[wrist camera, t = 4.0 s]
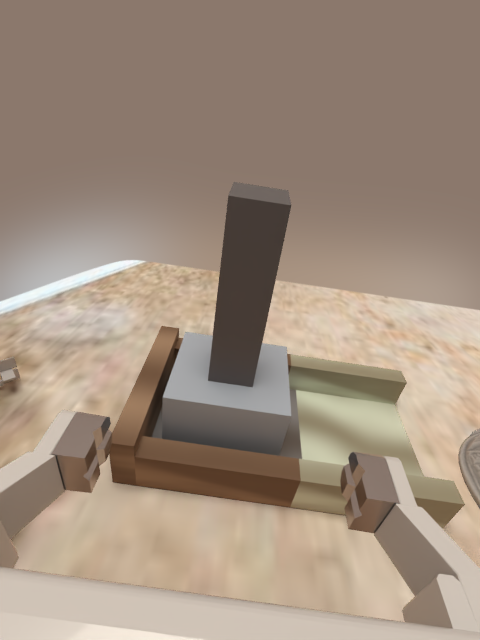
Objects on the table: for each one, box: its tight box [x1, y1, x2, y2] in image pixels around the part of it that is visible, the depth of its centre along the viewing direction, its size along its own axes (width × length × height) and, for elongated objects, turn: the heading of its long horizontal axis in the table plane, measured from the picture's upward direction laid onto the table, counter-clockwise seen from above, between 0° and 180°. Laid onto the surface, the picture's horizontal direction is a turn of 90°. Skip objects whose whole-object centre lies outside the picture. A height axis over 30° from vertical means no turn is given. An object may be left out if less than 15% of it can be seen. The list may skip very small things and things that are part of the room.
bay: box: [109, 326, 465, 529], centre depth 26 cm, size 12×22×4 cm, turn 86°
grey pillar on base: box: [162, 182, 291, 456], centre depth 22 cm, size 7×8×17 cm
